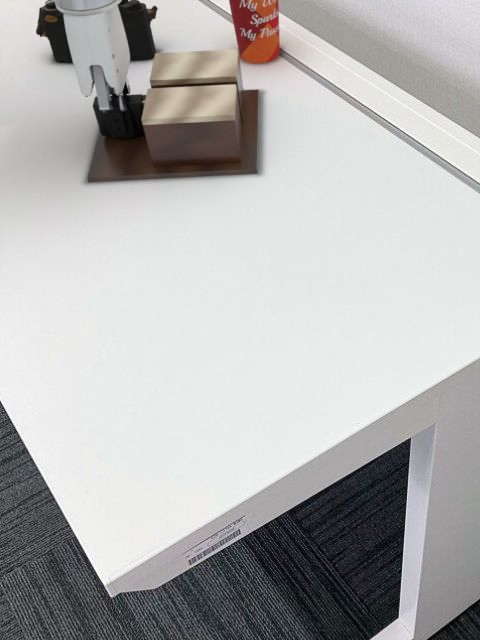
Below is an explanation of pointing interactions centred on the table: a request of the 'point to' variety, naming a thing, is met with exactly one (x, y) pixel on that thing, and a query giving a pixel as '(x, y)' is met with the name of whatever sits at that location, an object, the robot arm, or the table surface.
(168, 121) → the blocks on base plate
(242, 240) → the table surface
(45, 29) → the film camera
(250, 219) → the table surface
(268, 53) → the coffee cup
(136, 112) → the knife
